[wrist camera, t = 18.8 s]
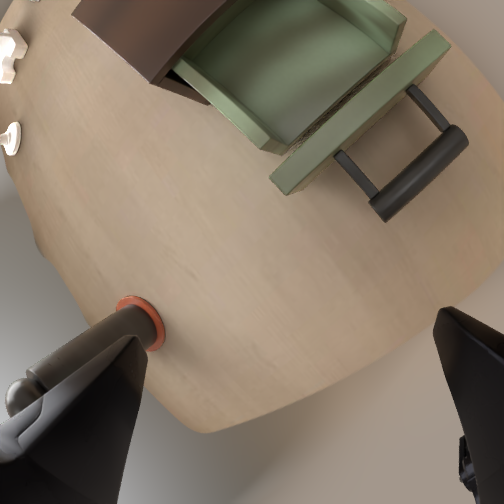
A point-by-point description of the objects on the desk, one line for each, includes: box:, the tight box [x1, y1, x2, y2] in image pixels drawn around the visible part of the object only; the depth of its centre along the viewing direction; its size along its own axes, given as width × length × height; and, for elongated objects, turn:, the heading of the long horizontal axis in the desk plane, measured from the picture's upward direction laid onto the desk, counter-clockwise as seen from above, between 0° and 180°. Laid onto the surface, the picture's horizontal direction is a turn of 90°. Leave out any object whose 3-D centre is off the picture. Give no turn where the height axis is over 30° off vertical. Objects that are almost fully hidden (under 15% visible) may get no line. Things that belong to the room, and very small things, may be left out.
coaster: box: [116, 296, 165, 351], centre depth 26 cm, size 6×6×1 cm
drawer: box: [171, 0, 469, 223], centre depth 13 cm, size 17×12×5 cm
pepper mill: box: [5, 304, 157, 418], centre depth 18 cm, size 5×5×16 cm
